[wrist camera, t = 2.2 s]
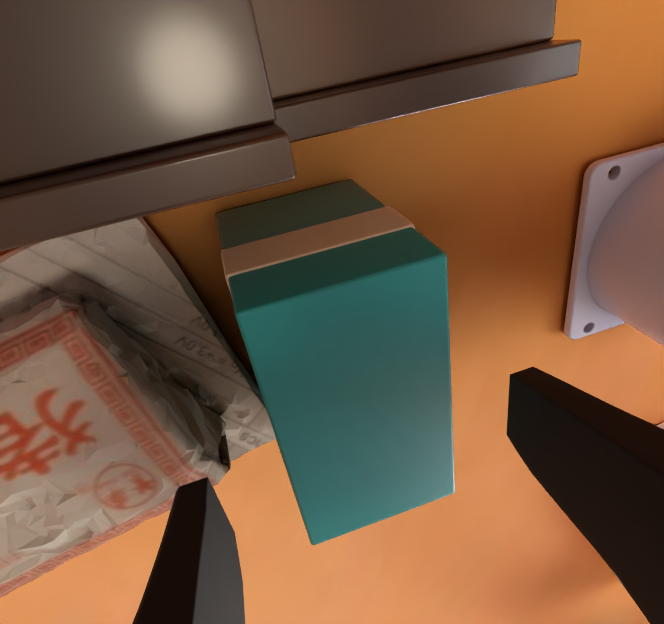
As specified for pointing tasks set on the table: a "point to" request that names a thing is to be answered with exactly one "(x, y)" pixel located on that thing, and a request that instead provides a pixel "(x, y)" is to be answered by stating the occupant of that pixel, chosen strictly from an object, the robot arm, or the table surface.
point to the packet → (346, 350)
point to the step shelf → (228, 92)
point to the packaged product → (107, 394)
